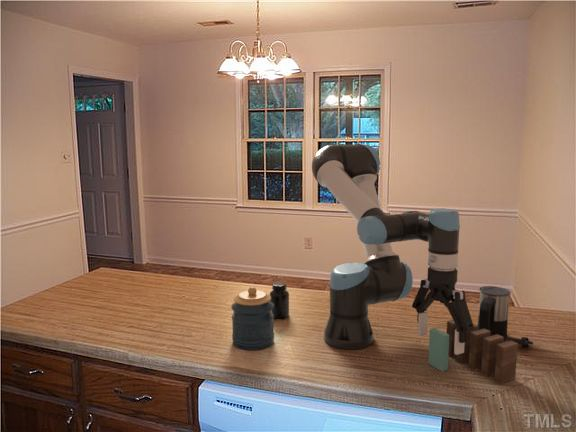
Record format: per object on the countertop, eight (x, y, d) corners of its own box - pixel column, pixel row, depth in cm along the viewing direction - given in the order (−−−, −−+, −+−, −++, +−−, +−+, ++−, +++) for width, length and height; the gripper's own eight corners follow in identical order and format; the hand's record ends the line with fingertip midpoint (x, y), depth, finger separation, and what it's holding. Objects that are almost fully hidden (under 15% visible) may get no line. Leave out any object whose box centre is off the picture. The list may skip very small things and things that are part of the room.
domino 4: (488, 365, 131) (490, 331, 130) (474, 369, 129) (476, 334, 127) (482, 362, 133) (484, 328, 131) (468, 366, 131) (470, 332, 129)
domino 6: (515, 379, 124) (517, 343, 122) (501, 384, 122) (503, 347, 120) (508, 376, 126) (511, 340, 124) (494, 380, 123) (497, 344, 122)
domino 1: (441, 371, 128) (443, 336, 127) (428, 363, 133) (429, 329, 131) (447, 369, 129) (449, 334, 128) (433, 361, 134) (435, 327, 132)
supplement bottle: (266, 318, 166) (266, 285, 164) (274, 311, 172) (274, 279, 170) (284, 321, 164) (284, 287, 162) (292, 314, 170) (291, 281, 168)
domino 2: (464, 352, 139) (465, 320, 137) (450, 356, 137) (452, 323, 135) (458, 350, 141) (460, 317, 139) (445, 353, 138) (447, 321, 137)
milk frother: (476, 327, 157) (479, 284, 155) (530, 334, 151) (533, 289, 148) (475, 345, 144) (478, 298, 142) (533, 353, 138) (537, 304, 136)
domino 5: (501, 372, 128) (503, 337, 126) (487, 376, 125) (489, 340, 124) (495, 369, 129) (497, 334, 128) (481, 373, 127) (483, 338, 125)
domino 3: (475, 358, 135) (477, 325, 133) (462, 363, 133) (464, 329, 131) (470, 356, 137) (472, 323, 135) (456, 360, 135) (458, 326, 133)
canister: (227, 337, 151) (225, 283, 148) (265, 330, 156) (264, 278, 153) (239, 354, 139) (238, 296, 136) (280, 346, 144) (280, 290, 141)
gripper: (400, 259, 136) (399, 330, 139) (468, 281, 114) (465, 365, 117) (421, 256, 139) (419, 325, 142) (491, 277, 117) (487, 358, 120)
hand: (440, 343), depth 130 cm, fingers open, 13 cm apart
